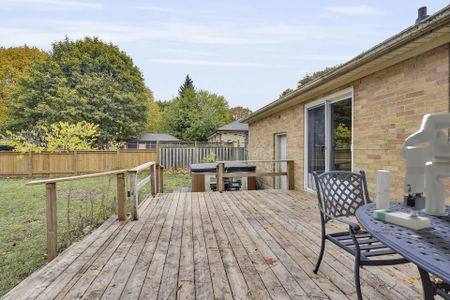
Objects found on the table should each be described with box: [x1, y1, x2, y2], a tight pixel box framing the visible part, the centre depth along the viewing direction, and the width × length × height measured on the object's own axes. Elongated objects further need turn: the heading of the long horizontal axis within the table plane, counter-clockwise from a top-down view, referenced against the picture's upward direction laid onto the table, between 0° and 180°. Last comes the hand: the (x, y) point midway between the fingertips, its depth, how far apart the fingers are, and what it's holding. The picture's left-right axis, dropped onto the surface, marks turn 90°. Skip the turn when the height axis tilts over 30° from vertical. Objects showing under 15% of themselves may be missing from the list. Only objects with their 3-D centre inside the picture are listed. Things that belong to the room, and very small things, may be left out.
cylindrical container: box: [375, 169, 391, 210], centre depth 160 cm, size 7×7×25 cm
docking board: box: [372, 208, 431, 231], centre depth 133 cm, size 22×12×4 cm, turn 25°
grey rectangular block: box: [403, 194, 426, 217], centre depth 128 cm, size 6×7×10 cm
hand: (414, 205), depth 128 cm, fingers closed on grey rectangular block, 6 cm apart
